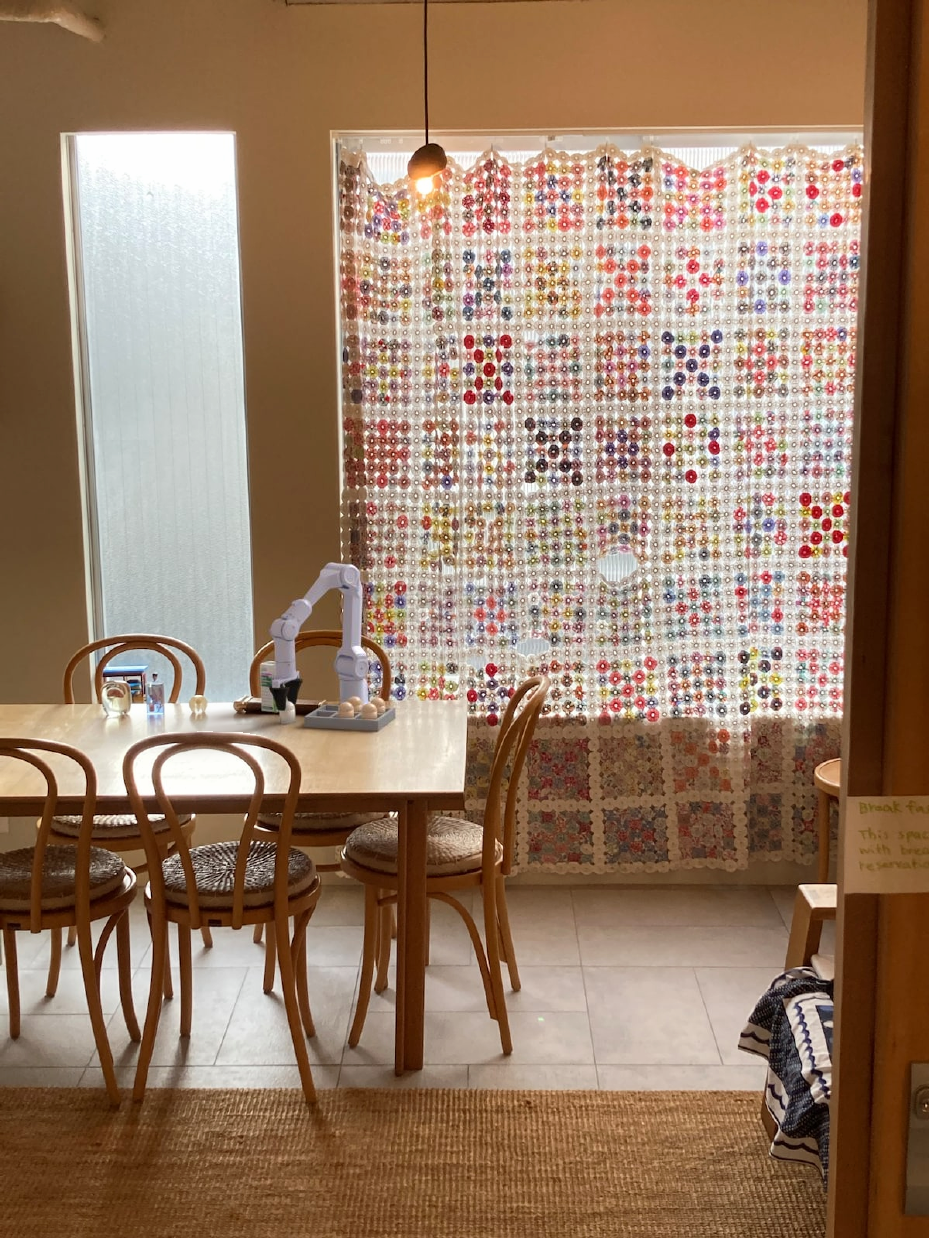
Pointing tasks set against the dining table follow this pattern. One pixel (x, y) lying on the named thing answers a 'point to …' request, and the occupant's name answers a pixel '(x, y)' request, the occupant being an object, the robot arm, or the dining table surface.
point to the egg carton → (352, 715)
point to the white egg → (288, 714)
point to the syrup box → (267, 686)
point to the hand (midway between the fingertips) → (286, 707)
